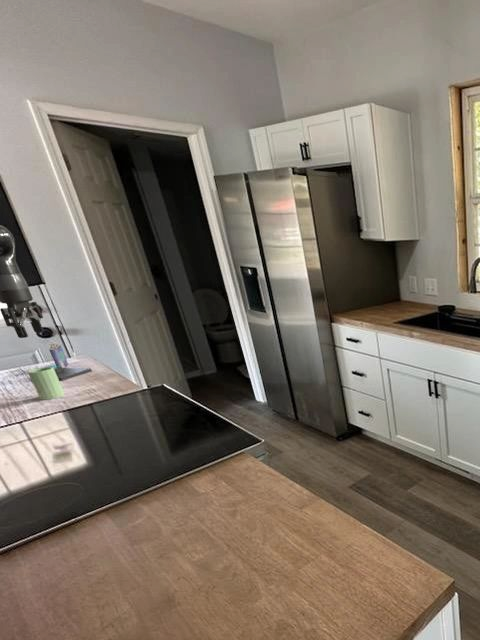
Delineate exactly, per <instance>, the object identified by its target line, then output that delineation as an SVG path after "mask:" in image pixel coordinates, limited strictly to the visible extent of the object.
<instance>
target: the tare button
mask: <svg viewBox="0 0 480 640" xmlns="http://www.w3.org/2000/svg"><path fill="white" fill-rule="evenodd" d="M45 367H53V368H54V369H56V368H57V367H56V364H49V365H46V366H45Z"/></svg>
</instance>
